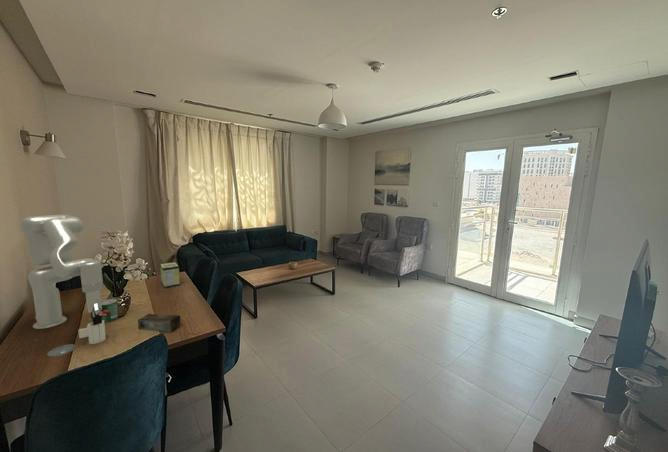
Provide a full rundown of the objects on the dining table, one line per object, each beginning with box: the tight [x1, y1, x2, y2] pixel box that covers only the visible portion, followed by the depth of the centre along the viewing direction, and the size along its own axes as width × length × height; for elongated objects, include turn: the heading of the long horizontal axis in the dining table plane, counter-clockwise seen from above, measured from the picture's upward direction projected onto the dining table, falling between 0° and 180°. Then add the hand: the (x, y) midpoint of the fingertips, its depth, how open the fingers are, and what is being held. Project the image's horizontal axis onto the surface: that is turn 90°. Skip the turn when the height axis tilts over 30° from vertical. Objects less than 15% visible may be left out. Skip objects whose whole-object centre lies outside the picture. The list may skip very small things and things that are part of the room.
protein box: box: [159, 261, 181, 289], centre depth 208 cm, size 10×16×16 cm
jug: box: [78, 320, 107, 345], centre depth 129 cm, size 6×9×9 cm, turn 128°
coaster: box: [47, 343, 76, 358], centre depth 122 cm, size 9×9×1 cm
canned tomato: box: [100, 298, 119, 324], centre depth 151 cm, size 8×8×11 cm
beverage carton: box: [137, 313, 181, 333], centre depth 145 cm, size 8×19×7 cm, turn 85°
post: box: [86, 334, 110, 346], centre depth 131 cm, size 8×8×7 cm
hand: (96, 320), depth 130 cm, fingers open, 9 cm apart
